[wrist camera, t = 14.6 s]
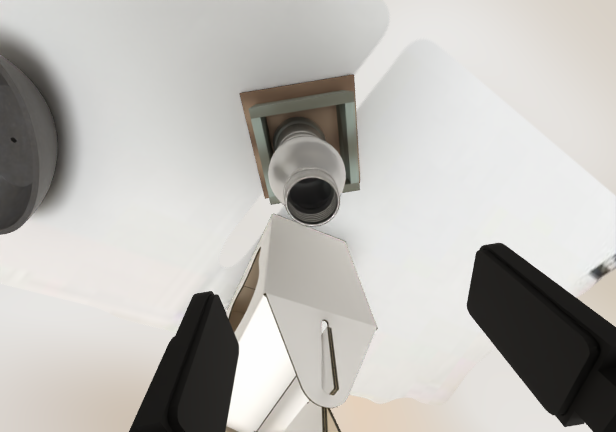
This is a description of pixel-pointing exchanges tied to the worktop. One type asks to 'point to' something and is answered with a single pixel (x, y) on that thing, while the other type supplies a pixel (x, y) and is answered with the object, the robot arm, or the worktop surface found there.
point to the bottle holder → (310, 104)
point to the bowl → (23, 147)
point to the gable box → (296, 331)
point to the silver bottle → (306, 172)
